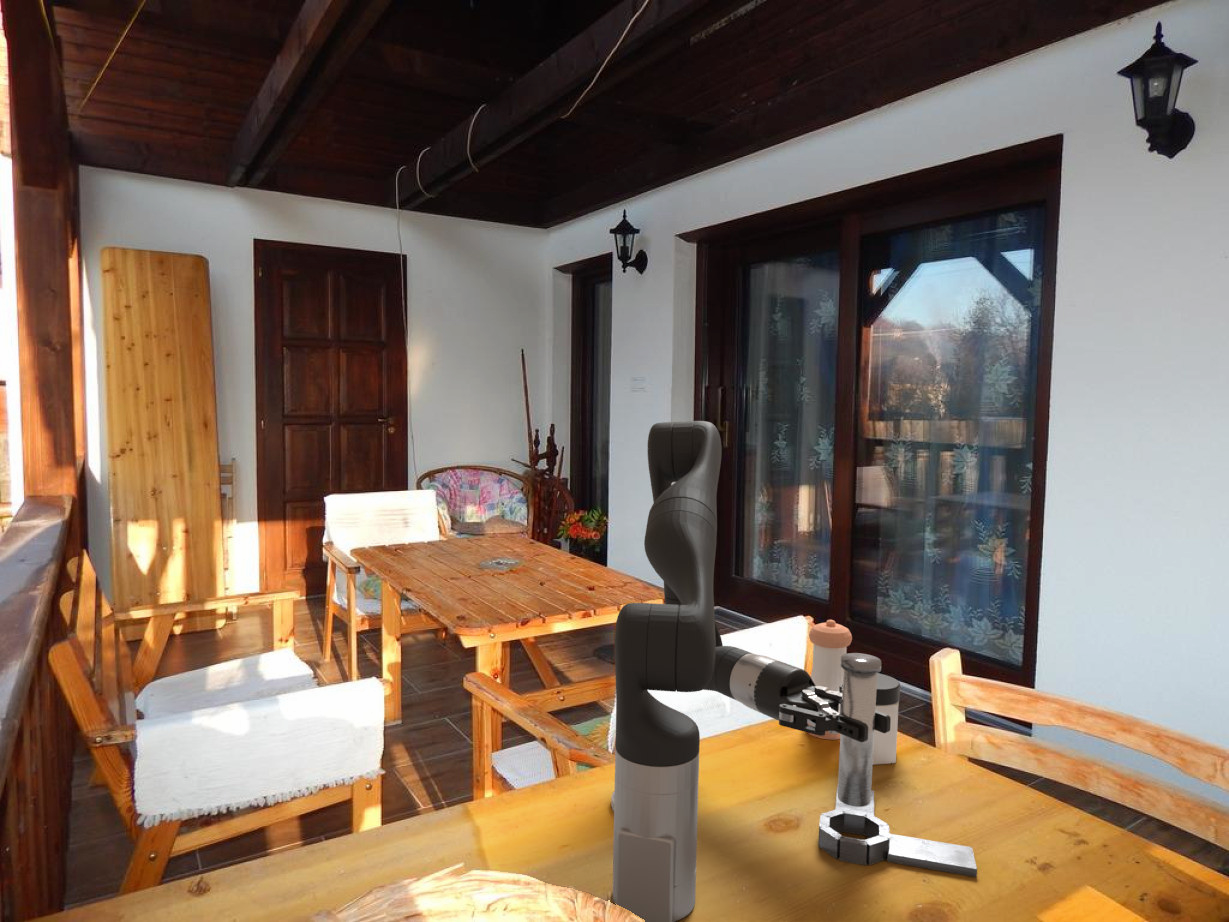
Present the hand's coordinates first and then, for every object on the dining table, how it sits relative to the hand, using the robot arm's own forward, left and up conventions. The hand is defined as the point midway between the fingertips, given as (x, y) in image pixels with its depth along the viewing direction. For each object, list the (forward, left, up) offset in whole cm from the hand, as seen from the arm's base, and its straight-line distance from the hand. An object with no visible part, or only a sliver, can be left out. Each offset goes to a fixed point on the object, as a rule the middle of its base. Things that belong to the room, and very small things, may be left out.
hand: (877, 729), depth 99 cm
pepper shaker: (+37, +7, -16) cm, 41 cm away
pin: (+2, +2, -10) cm, 10 cm away
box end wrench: (+6, -3, -16) cm, 17 cm away
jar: (+30, 0, -16) cm, 34 cm away
